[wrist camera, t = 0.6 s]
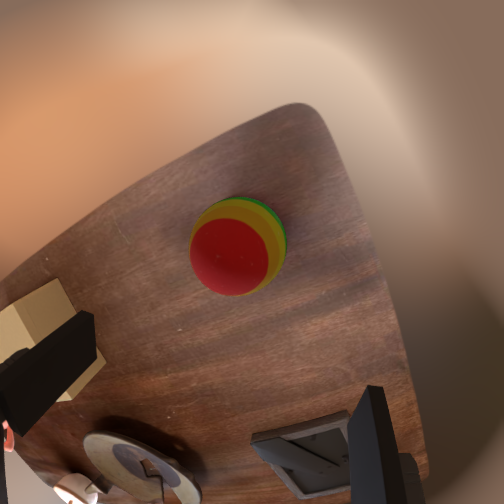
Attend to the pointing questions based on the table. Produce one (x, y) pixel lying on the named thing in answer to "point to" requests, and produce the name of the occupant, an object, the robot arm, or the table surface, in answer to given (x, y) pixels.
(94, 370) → the tan cardboard box
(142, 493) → the grey frying pan
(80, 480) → the white lidded sugar bowl
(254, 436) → the picture frame
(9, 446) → the pink ceramic boxy vessel
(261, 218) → the decorative egg
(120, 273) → the table surface
